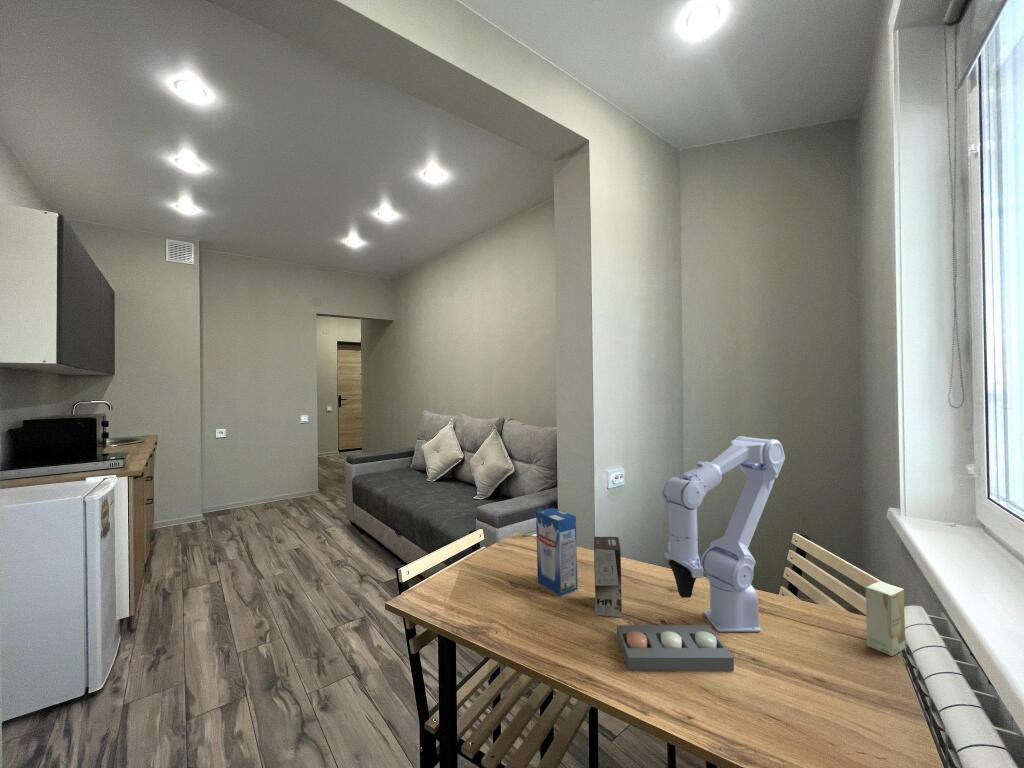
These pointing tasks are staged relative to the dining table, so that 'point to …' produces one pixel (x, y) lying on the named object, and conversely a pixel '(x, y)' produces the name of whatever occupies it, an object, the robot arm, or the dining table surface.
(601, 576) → the coffee box
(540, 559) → the milk carton
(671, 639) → the white rounded piece
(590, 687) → the dining table surface
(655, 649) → the button panel
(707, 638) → the pale green egg
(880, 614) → the skincare box
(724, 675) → the dining table surface
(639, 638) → the terracotta button
